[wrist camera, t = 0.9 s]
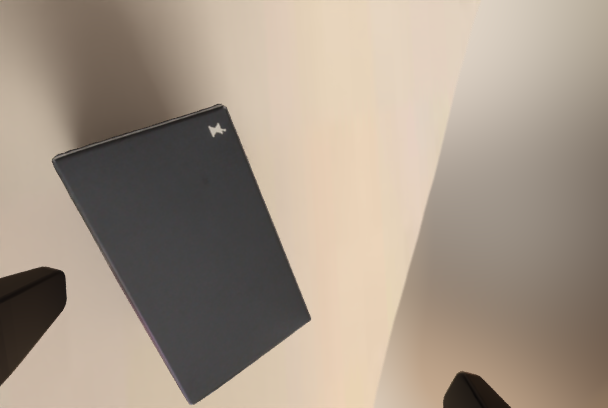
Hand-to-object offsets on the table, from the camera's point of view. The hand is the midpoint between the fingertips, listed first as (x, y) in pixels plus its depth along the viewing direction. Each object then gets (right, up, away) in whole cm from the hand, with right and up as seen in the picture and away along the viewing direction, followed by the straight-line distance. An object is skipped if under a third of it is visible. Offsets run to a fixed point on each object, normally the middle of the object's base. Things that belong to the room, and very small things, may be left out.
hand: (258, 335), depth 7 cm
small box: (-8, +1, +14) cm, 16 cm away
